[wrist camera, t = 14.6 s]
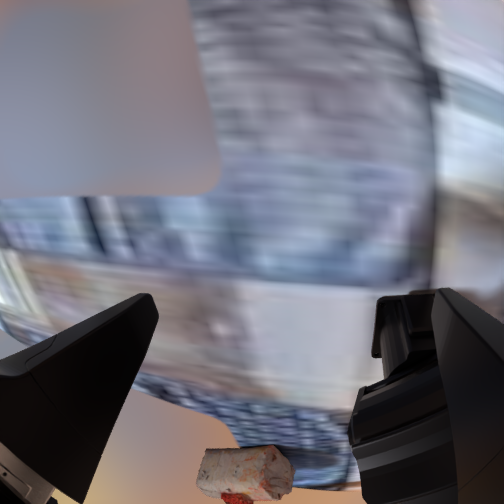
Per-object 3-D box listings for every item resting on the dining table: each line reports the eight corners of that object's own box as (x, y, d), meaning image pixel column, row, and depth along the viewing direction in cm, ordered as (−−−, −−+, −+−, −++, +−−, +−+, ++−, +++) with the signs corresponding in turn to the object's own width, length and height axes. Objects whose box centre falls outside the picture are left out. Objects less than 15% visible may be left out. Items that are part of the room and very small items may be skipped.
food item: (277, 439, 35) (261, 500, 27) (301, 460, 38) (290, 515, 29) (203, 443, 41) (182, 492, 33) (230, 464, 43) (215, 509, 35)
